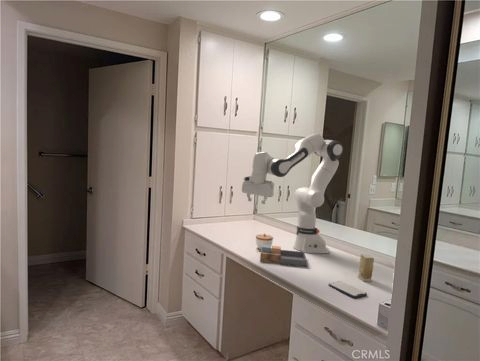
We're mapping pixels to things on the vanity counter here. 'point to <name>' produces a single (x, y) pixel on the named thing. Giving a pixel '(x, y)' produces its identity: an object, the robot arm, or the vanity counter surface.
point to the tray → (293, 258)
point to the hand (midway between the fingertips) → (256, 202)
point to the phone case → (348, 290)
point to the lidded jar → (263, 240)
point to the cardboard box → (270, 257)
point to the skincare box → (366, 267)
